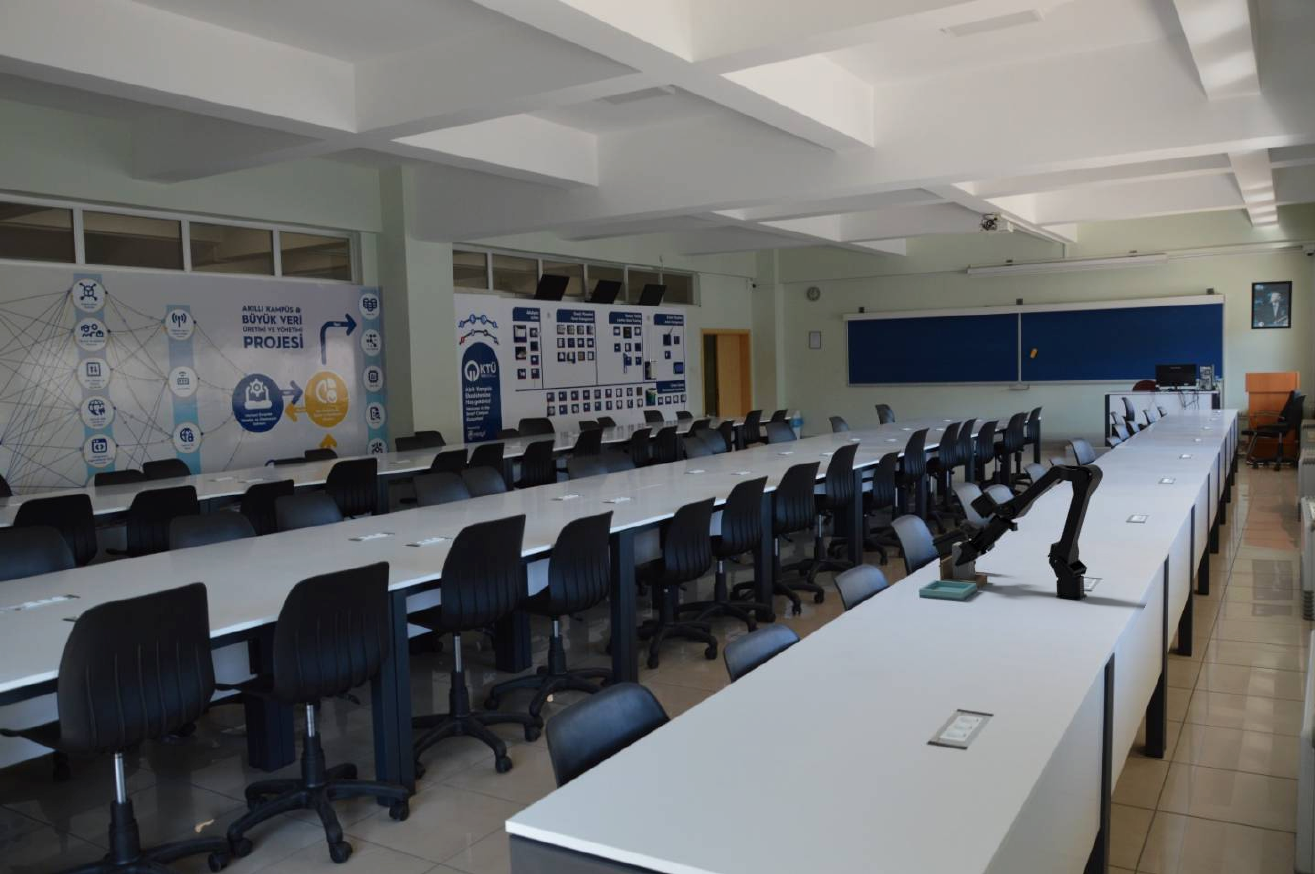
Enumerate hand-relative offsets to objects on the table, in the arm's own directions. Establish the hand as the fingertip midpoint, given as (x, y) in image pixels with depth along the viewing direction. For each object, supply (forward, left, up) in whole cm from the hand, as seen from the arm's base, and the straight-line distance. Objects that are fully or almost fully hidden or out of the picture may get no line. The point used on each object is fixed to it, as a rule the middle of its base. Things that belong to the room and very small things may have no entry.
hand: (958, 563), depth 305 cm
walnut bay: (-1, 0, -7) cm, 7 cm away
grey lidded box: (-1, 0, -7) cm, 7 cm away
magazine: (+11, -16, -7) cm, 21 cm away
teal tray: (-3, +13, -7) cm, 15 cm away
